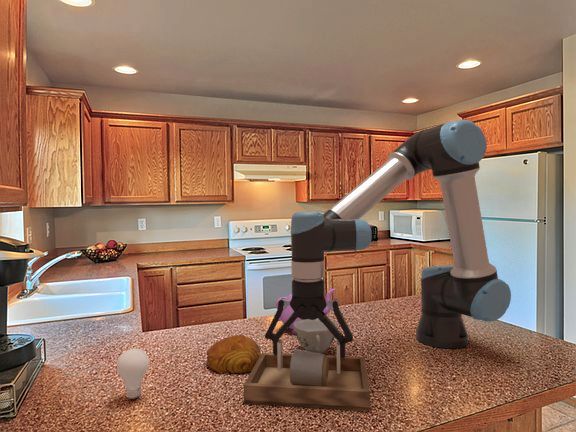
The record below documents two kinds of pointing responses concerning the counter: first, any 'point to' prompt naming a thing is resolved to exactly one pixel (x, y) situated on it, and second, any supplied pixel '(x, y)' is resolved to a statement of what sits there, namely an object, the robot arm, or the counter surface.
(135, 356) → the light bulb
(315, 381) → the ceramic mug
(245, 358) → the croissant
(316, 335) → the teacup
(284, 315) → the teapot
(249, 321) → the counter surface
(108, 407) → the counter surface
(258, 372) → the tray
